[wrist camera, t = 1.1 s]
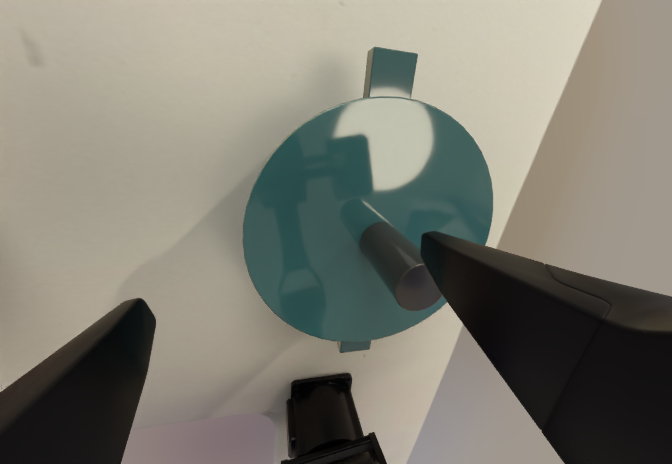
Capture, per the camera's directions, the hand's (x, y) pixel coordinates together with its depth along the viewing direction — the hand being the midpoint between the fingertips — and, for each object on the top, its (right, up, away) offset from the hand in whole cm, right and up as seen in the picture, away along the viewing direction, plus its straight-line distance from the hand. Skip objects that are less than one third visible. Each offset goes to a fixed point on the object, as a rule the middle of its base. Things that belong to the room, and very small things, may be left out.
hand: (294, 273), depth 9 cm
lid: (+4, +1, +8) cm, 8 cm away
